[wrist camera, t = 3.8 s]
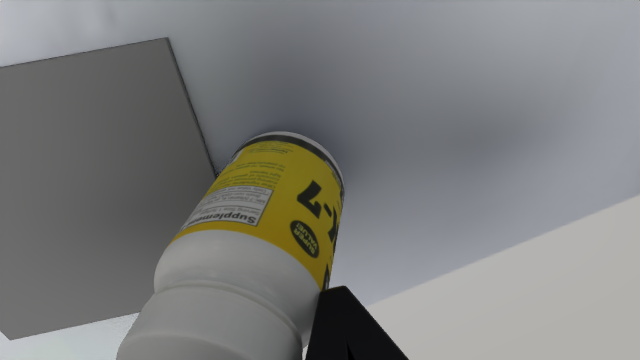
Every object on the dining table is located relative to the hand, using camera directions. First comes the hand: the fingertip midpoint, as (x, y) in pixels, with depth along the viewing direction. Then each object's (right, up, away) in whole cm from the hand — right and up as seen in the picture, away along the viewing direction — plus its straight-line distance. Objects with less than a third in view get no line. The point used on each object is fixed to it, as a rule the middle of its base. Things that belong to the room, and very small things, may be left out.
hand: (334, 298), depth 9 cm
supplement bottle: (-2, +3, +6) cm, 7 cm away
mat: (-10, +2, +5) cm, 12 cm away
